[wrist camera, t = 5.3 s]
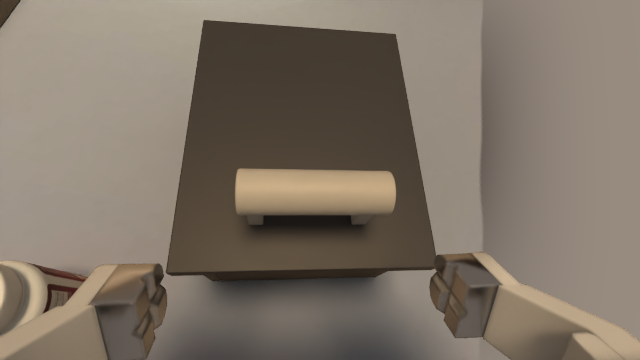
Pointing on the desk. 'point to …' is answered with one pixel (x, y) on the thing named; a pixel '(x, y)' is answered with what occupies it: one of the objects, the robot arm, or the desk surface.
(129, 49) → the desk surface
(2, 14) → the brown hexagonal block
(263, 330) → the desk surface
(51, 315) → the robot arm
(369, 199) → the brown box lid
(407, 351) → the desk surface
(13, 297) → the pill bottle
